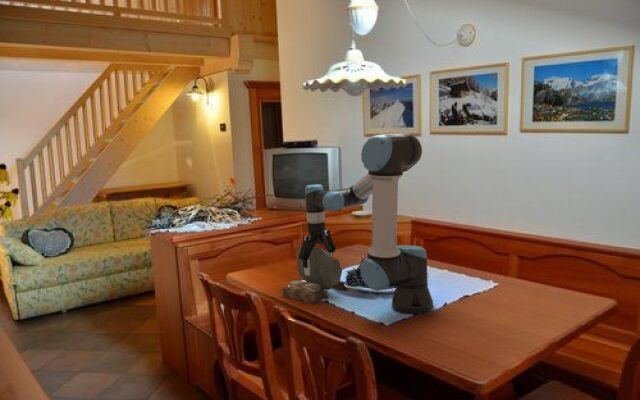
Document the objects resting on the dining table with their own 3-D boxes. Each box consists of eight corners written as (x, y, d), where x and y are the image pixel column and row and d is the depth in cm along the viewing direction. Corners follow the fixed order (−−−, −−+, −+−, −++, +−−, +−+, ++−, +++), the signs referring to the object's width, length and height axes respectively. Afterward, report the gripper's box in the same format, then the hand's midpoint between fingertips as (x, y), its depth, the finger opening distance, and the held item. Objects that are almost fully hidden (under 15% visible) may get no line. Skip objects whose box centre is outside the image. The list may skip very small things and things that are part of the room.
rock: (347, 295, 198) (344, 247, 196) (336, 299, 194) (333, 251, 191) (306, 283, 218) (303, 239, 215) (295, 286, 214) (292, 242, 211)
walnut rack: (349, 289, 206) (348, 282, 205) (313, 304, 191) (312, 296, 190) (319, 282, 218) (318, 276, 218) (283, 295, 203) (282, 288, 203)
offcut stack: (321, 298, 197) (320, 284, 196) (315, 301, 194) (314, 287, 193) (295, 293, 206) (294, 279, 205) (289, 296, 203) (288, 282, 202)
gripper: (329, 216, 214) (332, 262, 216) (287, 226, 196) (291, 276, 199) (342, 217, 208) (345, 265, 211) (300, 227, 191) (303, 279, 194)
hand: (319, 271), depth 205 cm, fingers open, 13 cm apart
